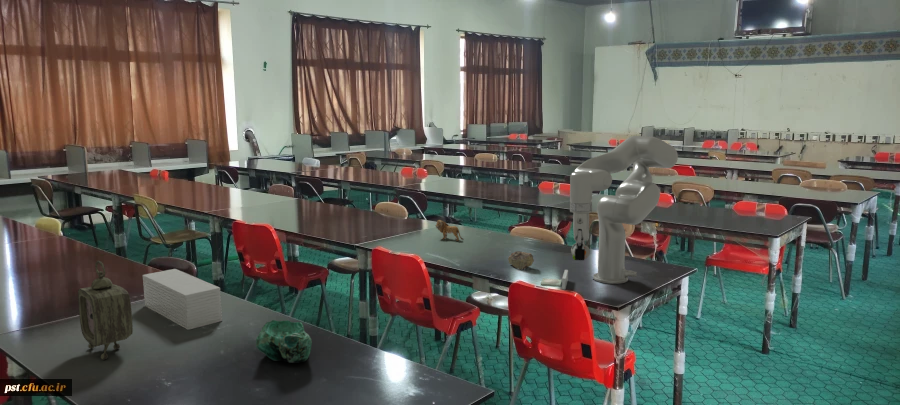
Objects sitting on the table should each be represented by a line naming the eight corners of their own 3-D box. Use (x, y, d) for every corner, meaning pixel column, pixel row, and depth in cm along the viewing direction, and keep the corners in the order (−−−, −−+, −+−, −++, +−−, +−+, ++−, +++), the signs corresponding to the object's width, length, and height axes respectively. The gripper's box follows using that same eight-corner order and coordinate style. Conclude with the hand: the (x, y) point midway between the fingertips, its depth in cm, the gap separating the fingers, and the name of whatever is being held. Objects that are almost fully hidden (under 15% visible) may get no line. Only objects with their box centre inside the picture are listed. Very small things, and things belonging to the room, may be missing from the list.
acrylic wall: (567, 280, 240) (568, 270, 239) (565, 289, 228) (565, 278, 228) (564, 280, 240) (564, 269, 240) (561, 289, 229) (562, 278, 228)
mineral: (333, 359, 168) (332, 322, 166) (281, 378, 156) (279, 339, 155) (291, 342, 180) (290, 307, 178) (240, 358, 168) (238, 322, 167)
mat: (561, 281, 239) (561, 279, 239) (560, 286, 232) (560, 284, 232) (542, 279, 241) (542, 278, 241) (540, 285, 234) (540, 283, 234)
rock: (533, 257, 251) (536, 248, 260) (504, 255, 253) (508, 246, 263) (533, 274, 253) (536, 264, 262) (504, 272, 256) (508, 262, 265)
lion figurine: (433, 239, 312) (433, 220, 310) (438, 236, 316) (438, 218, 315) (461, 241, 305) (461, 223, 304) (466, 239, 310) (466, 221, 309)
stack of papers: (145, 306, 212) (142, 274, 210) (177, 299, 219) (175, 268, 217) (188, 330, 190) (185, 295, 188) (222, 321, 197) (220, 287, 196)
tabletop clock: (82, 348, 175) (73, 259, 171) (118, 339, 182) (110, 253, 178) (99, 363, 165) (90, 269, 161) (136, 354, 172) (128, 262, 168)
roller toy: (569, 258, 229) (569, 242, 228) (586, 256, 230) (586, 241, 229) (574, 261, 225) (574, 245, 224) (591, 260, 226) (591, 244, 225)
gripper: (590, 212, 215) (590, 264, 218) (592, 202, 231) (592, 251, 234) (568, 211, 217) (567, 263, 220) (571, 202, 233) (571, 251, 236)
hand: (580, 257), depth 227 cm, fingers closed on roller toy, 5 cm apart
